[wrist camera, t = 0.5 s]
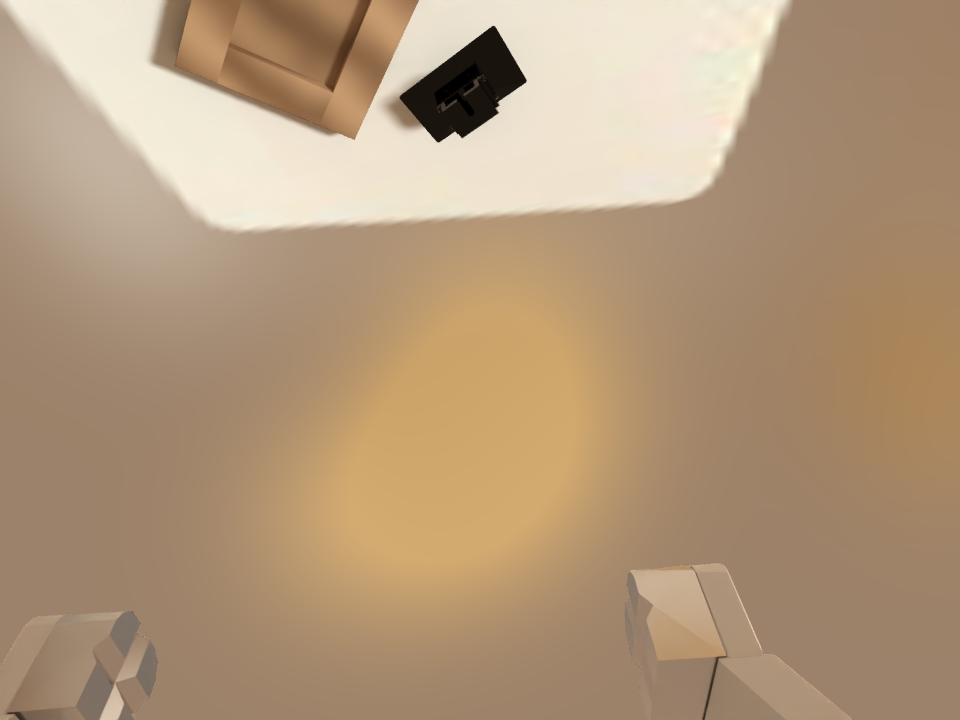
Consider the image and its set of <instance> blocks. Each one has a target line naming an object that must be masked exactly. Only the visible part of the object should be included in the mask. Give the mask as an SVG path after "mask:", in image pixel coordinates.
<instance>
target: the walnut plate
mask: <svg viewBox="0 0 960 720" xmlns="http://www.w3.org/2000/svg"><path fill="white" fill-rule="evenodd" d="M418 1H419V0H191V4H190V8H189V11H188V15H187V19H186V23H185V27H184V31H183V35H182V39H181V43H180V47H179V51H178V55H177V59H176V63H175V66H176V67H179V68H181V69H184V70H186V71H188V72H191V73H193V74H196V75H198V76H201V77H203V78H206V79H208V80H210V81H213V82H215V83H218V84H220V85H223V86H225V87H227V88H230V89H232V90H235V91H237V92H240V93H242V94H244V95H247V96H249V97H252V98H254V99H257V100H259V101H262V102H264V103H266V104H269V105H271V106H274V107H276V108H279V109H281V110H283V111H286V112H288V113H291V114H293V115H296V116H298V117H300V118H303V119H305V120H308V121H310V122H313V123H315V124H317V125H320V126H322V127H325V128H327V129H330V130H332V131H335V132H337V133H339V134H342V135H344V136H347V137H349V138H352V139H354V140H355V137H356V135H357V133H358V131H359V129H360V127H361V124H362V122H363V120H364V118H365V116H366V114H367V111H368V109H369V107H370V105H371V103H372V101H373V98H374V96H375V94H376V92H377V90H378V88H379V85H380V83H381V81H382V79H383V77H384V75H385V72H386V70H387V68H388V66H389V64H390V62H391V59H392V57H393V55H394V53H395V51H396V49H397V46H398V44H399V42H400V40H401V38H402V36H403V33H404V31H405V29H406V27H407V25H408V23H409V20H410V18H411V16H412V14H413V12H414V10H415V7H416V5H417V3H418Z"/></svg>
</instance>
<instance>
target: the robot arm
mask: <svg viewBox="0 0 960 720" xmlns="http://www.w3.org/2000/svg"><path fill="white" fill-rule="evenodd" d="M627 578H628V579H627V588H628V592H629V596H630V598H629V599H628V600H627V601H626V603H625V625H626V635H627V641H628V645H629V650H630V654H631V658H632V661H633V662H634V663H635V664H636V665H637V666H638V667H639V668H640V678H639V691H640V694H641V699H642V702H643V706H644V710H645V714H646V718H647V720H853V719H851V718H850V717H849V716H848V715H847V714H845V713H844V712H843V711H842V710H841V709H839V708H838V707H837V706H836V705H834V704H833V703H832V702H831V701H830V700H828V699H827V698H826V697H825V696H824V695H822V694H821V693H820V692H819V691H818V690H816V689H815V688H814V687H813V686H812V685H810V684H809V683H808V682H807V681H806V680H804V679H803V678H802V677H801V676H800V675H798V674H797V673H796V672H795V671H793V670H792V669H791V668H790V667H788V666H787V665H786V664H785V663H784V662H783V661H781V660H780V659H779V658H778V657H777V656H775V655H774V654H764V653H763V651H762V649H761V646H760V644H759V642H758V639H757V638H756V635H755V632H754V630H753V628H752V626H751V623H750V621H749V619H748V616H747V614H746V612H745V609H744V607H743V605H742V602H741V600H740V598H739V596H738V594H737V591H736V589H735V586H734V584H733V582H732V580H731V577H730V575H729V573H728V570H727V568H726V567H725V566H723V564H721V563H715V564H704V565H694V566H689V565H683V566H673V567H662V568H651V569H642V570H631V571H629V574H628V577H627ZM140 624H141V623H140V622H139V620H138V619H137V617H136V616H135V614H134V612H133V611H126V612H108V613H91V614H75V615H74V614H73V615H56V616H43V617H34V618H33V619H32V620H31V621H30V622H28V623H27V624H26V625H25V626H24V627H23V629H22V631H21V632H20V634H19V635H18V637H17V639H16V641H15V642H14V644H13V646H12V647H11V649H10V651H9V652H8V654H7V656H6V657H5V659H4V661H3V662H2V664H1V666H0V720H136V717H135V714H134V713H135V712H136V711H137V710H138V709H139V708H140V707H141V706H142V705H143V704H144V703H145V702H146V701H147V700H148V699H149V697H150V695H151V692H152V689H153V686H154V683H155V680H156V670H157V657H156V651H155V648H154V646H153V644H152V643H151V641H150V639H148V638H146V637H144V636H142V635H140V634H139V633H137V630H138V628H139V626H140Z"/></svg>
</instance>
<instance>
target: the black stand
mask: <svg viewBox="0 0 960 720" xmlns="http://www.w3.org/2000/svg"><path fill="white" fill-rule="evenodd" d="M526 81H527V80H526V78H525V76H524V75H523V73H522V71H521V70H520V68H519V66H518V65H517V63H516V61H515V59H514V58H513V56H512V54H511V53H510V51H509V49H508V48H507V46H506V44H505V42H504V41H503V39H502V37H501V36H500V34H499V32H498V30H497V29H496V27H495V26H492V27H491V28H489V29H488V30H487V31H485V32H484V33H483V34H481V35H480V36H479V37H477V38H476V39H475V40H473V41H472V42H471V43H469V44H468V45H467V46H465V47H464V48H463V49H461V50H460V51H459V52H457V53H456V54H455V55H454V56H452V57H451V58H450V59H448V60H447V61H446V62H444V63H443V64H442V65H440V66H439V67H438V68H436V69H435V70H434V71H432V72H431V73H430V74H428V75H427V76H426V77H424V78H423V79H422V80H420V81H419V82H418V83H416V84H415V85H414V86H413V87H411V88H410V89H409V90H407V91H406V92H405V93H403V94H402V95H401V96H400V99H401V100H402V102H403V103H404V104H405V105H406V106H407V107H408V109H409V110H410V111H411V112H412V113H413V115H414V116H415V117H416V118H417V119H418V120H419V122H420V123H421V124H422V125H423V126H424V127H425V129H426V130H427V131H428V132H429V133H430V134H431V136H432V137H433V138H434V139H435V140H436V141H437V142H440V141H442V140H443V139H445V138H446V137H448V136H449V135H451V134H452V133H454V132H456V133H457V134H459V135H460V136H461V138H464V137H465V136H466V135H468V134H469V133H471V132H472V131H474V130H475V129H477V128H478V127H479V126H481V125H482V124H484V123H485V122H487V121H488V120H490V119H491V118H492V117H494V116H495V115H497V114H498V113H499V112H498V109H497V107H498V106H499V102H498V101H500V100H501V99H503V98H504V97H506V96H507V95H509V94H510V93H511V92H513V91H514V90H516V89H517V88H519V87H520V86H522V85H523V84H525V83H526Z"/></svg>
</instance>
